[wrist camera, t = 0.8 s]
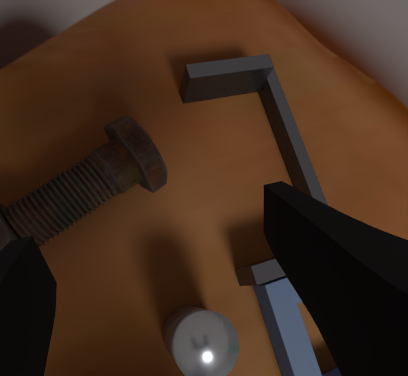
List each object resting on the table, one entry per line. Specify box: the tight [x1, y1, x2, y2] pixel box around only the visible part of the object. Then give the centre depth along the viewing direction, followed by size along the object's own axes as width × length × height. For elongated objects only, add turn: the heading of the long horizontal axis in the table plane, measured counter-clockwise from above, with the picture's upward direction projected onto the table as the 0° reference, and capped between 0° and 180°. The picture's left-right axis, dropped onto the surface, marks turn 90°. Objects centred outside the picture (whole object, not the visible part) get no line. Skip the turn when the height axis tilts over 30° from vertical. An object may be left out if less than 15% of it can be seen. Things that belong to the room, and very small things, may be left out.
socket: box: [254, 276, 342, 376], centre depth 23 cm, size 9×9×2 cm
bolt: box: [0, 116, 167, 251], centre depth 21 cm, size 6×5×15 cm
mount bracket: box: [180, 54, 327, 286], centre depth 25 cm, size 16×8×4 cm, turn 17°
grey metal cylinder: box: [163, 306, 239, 376], centre depth 20 cm, size 3×3×6 cm
